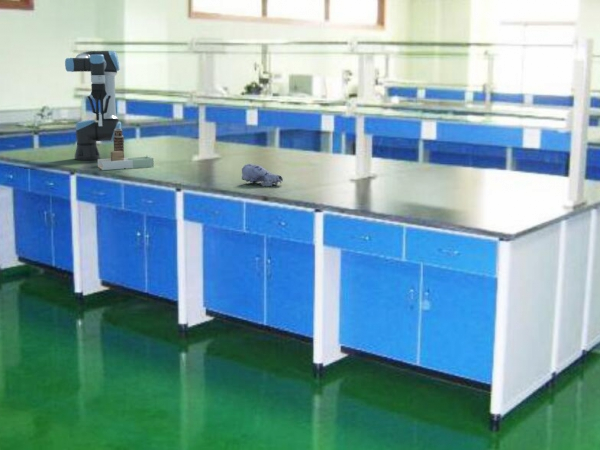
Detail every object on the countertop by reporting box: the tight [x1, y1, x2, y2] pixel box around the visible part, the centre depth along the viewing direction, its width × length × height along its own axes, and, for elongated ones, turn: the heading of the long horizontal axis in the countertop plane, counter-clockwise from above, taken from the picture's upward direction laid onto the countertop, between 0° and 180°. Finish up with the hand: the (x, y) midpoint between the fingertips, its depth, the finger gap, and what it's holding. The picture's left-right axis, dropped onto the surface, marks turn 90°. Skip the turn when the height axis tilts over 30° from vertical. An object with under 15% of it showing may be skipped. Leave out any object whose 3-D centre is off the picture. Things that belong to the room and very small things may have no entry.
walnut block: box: [109, 150, 125, 161], centre depth 477 cm, size 6×6×6 cm
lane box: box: [97, 155, 155, 171], centre depth 480 cm, size 12×29×5 cm, turn 115°
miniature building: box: [113, 128, 125, 153], centre depth 495 cm, size 10×10×20 cm
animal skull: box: [241, 163, 284, 187], centre depth 419 cm, size 14×22×10 cm, turn 54°
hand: (100, 125), depth 470 cm, fingers closed
